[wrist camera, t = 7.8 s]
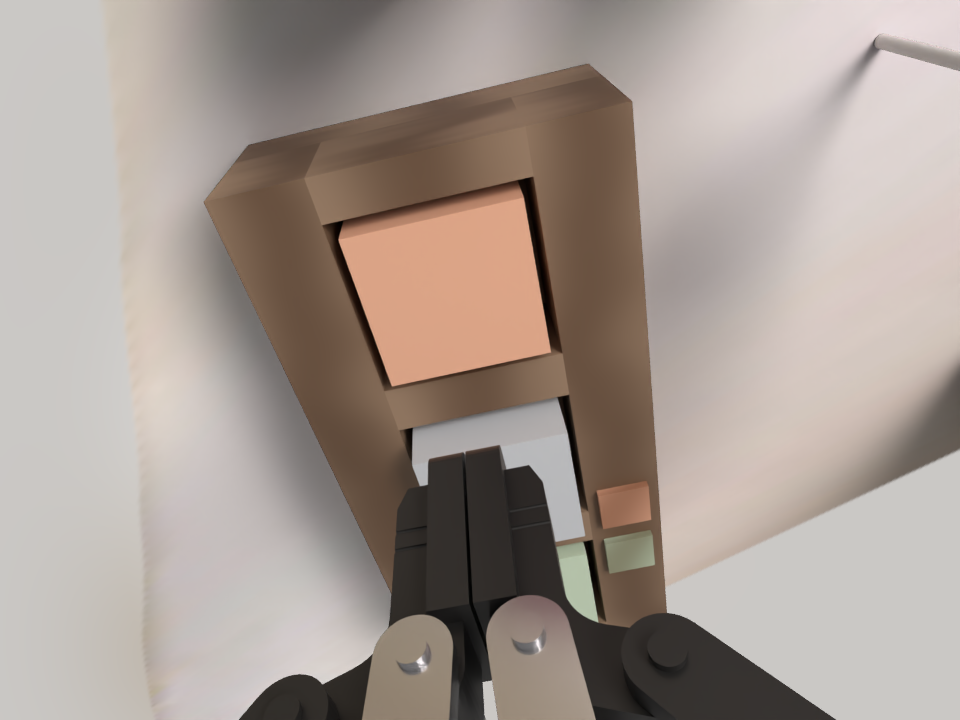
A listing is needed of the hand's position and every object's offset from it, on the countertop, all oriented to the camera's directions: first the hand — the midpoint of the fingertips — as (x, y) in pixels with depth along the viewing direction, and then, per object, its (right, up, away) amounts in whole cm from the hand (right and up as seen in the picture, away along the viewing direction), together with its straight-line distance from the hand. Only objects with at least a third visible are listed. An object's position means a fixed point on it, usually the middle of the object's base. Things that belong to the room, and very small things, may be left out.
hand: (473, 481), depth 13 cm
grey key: (+1, -1, +12) cm, 12 cm away
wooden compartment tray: (0, +1, +16) cm, 16 cm away
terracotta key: (-1, +6, +9) cm, 11 cm away
